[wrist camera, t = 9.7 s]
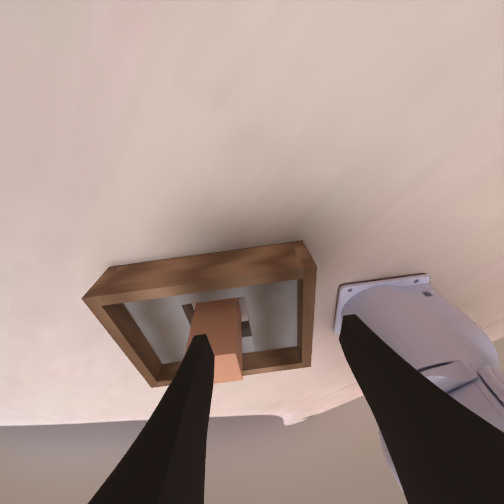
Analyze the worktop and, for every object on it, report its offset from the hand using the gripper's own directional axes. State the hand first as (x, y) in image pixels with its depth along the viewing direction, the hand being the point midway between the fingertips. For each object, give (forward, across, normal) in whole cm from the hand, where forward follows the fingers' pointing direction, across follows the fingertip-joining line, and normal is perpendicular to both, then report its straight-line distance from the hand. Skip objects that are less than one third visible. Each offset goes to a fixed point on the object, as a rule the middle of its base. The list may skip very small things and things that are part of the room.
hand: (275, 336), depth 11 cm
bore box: (+9, +5, +7) cm, 13 cm away
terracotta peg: (+10, +5, +7) cm, 13 cm away
